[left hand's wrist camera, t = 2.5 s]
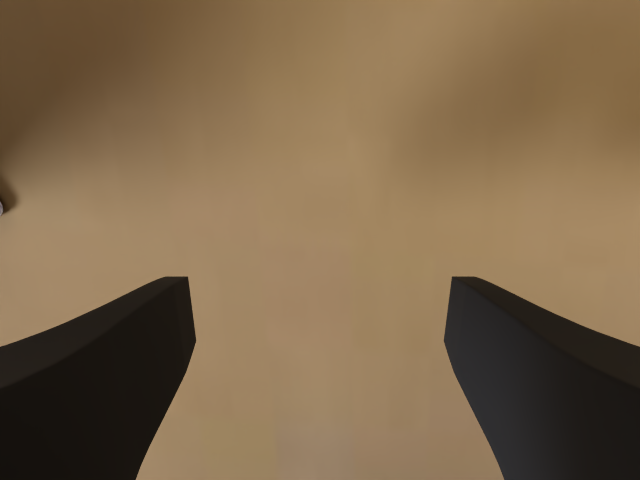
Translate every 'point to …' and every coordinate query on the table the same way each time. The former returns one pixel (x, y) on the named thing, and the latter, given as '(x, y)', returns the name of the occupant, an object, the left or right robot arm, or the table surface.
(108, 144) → the table surface
